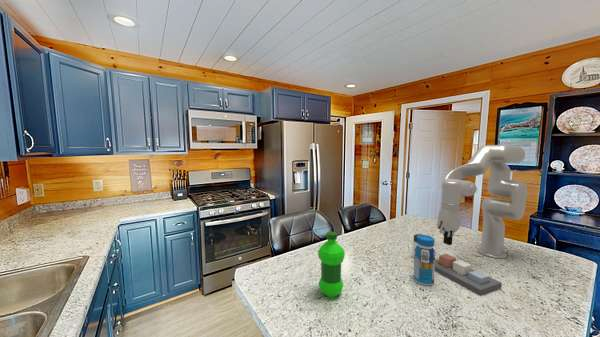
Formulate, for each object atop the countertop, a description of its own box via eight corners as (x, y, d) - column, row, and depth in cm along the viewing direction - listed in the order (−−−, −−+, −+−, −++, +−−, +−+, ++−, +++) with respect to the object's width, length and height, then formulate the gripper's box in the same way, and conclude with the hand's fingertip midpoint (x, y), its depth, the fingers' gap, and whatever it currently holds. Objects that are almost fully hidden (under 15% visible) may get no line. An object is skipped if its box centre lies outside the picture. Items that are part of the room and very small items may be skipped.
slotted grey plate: (447, 262, 119) (447, 257, 119) (501, 288, 97) (501, 282, 97) (427, 267, 114) (427, 262, 114) (479, 295, 92) (480, 289, 92)
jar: (424, 263, 118) (425, 241, 117) (409, 257, 125) (410, 236, 124) (433, 259, 123) (434, 237, 122) (418, 253, 129) (419, 232, 128)
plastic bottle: (317, 285, 99) (317, 228, 97) (341, 286, 98) (343, 229, 96) (318, 300, 89) (319, 238, 87) (345, 301, 88) (347, 238, 86)
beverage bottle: (408, 277, 105) (410, 235, 103) (421, 274, 108) (423, 232, 106) (425, 288, 97) (427, 242, 95) (438, 283, 100) (441, 239, 99)
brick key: (445, 261, 115) (446, 253, 115) (455, 266, 111) (456, 258, 110) (438, 263, 113) (439, 255, 113) (448, 268, 109) (448, 259, 109)
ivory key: (459, 268, 109) (460, 259, 108) (471, 273, 104) (471, 264, 104) (452, 270, 107) (453, 261, 107) (463, 275, 102) (464, 266, 102)
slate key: (475, 278, 102) (476, 270, 102) (488, 285, 98) (488, 276, 97) (468, 281, 101) (468, 272, 100) (480, 287, 96) (481, 278, 96)
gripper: (453, 203, 116) (450, 239, 117) (431, 205, 110) (429, 243, 112) (468, 207, 109) (465, 245, 110) (446, 209, 103) (444, 249, 105)
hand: (447, 243), depth 111 cm, fingers closed
